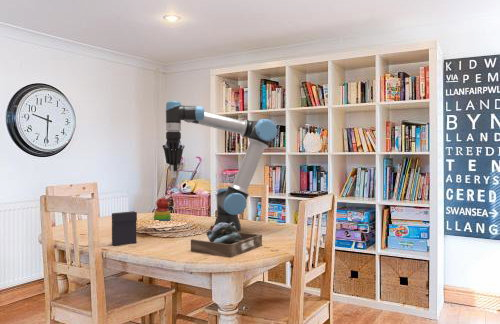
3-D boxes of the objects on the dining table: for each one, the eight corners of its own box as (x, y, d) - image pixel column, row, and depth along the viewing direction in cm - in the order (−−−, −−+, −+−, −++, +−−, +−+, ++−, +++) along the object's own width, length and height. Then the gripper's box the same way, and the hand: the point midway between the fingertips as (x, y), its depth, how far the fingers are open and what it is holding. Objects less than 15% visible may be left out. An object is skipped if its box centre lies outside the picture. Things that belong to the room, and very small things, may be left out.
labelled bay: (224, 240, 216) (224, 230, 216) (262, 245, 205) (262, 234, 205) (190, 251, 194) (190, 239, 194) (231, 257, 183) (231, 245, 183)
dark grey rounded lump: (210, 252, 191) (202, 222, 196) (213, 257, 202) (205, 228, 207) (243, 241, 192) (234, 212, 197) (244, 247, 204) (235, 219, 209)
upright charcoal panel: (133, 241, 213) (133, 211, 213) (137, 243, 210) (137, 212, 209) (111, 244, 206) (111, 212, 206) (114, 246, 203) (114, 214, 203)
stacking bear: (167, 231, 240) (167, 199, 239) (150, 231, 242) (150, 198, 241) (175, 228, 250) (175, 197, 250) (158, 227, 252) (158, 196, 252)
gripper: (158, 131, 225) (158, 177, 226) (178, 131, 218) (178, 178, 219) (168, 132, 231) (168, 176, 232) (188, 131, 225) (188, 177, 225)
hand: (173, 177), depth 226 cm, fingers closed
